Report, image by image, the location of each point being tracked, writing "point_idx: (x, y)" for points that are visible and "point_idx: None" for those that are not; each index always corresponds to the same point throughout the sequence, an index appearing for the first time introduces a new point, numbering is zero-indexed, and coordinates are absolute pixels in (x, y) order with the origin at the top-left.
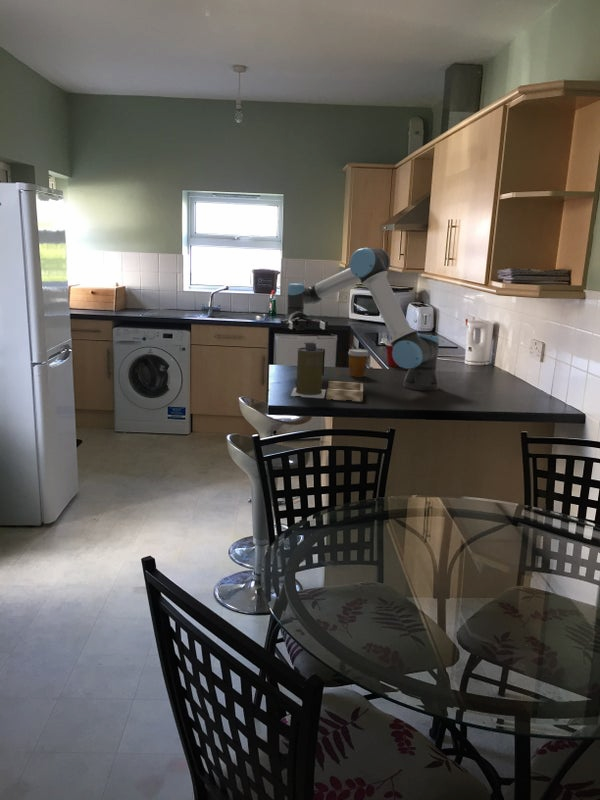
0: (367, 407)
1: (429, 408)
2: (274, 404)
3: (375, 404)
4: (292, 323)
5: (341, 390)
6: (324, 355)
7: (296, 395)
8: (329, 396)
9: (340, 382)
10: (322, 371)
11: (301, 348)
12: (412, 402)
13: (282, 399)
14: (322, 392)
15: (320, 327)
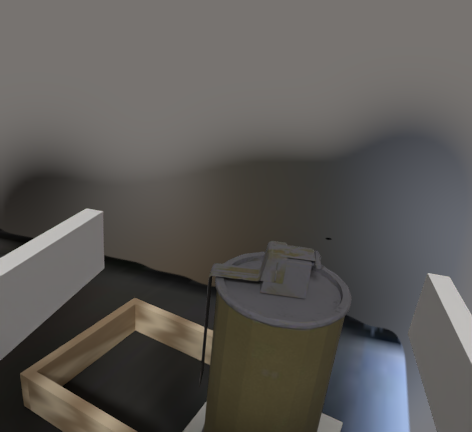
0: (164, 289)
1: None
2: (403, 357)
3: (123, 300)
4: (425, 282)
5: (188, 321)
6: (210, 292)
7: (321, 413)
8: None
9: (99, 410)
10: (201, 369)
11: (321, 317)
12: None
13: (377, 396)
14: (199, 427)
15: (21, 335)
